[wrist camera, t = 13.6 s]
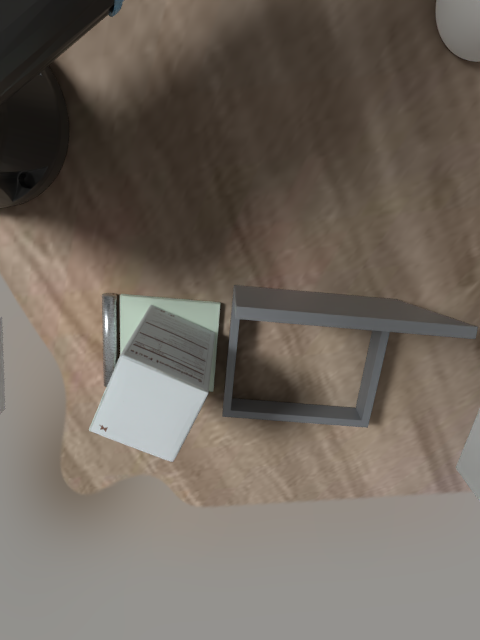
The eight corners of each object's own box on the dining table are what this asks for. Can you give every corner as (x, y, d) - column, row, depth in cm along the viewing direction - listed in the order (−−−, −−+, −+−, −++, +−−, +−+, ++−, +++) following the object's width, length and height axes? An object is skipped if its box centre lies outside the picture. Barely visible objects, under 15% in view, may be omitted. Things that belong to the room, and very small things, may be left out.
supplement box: (189, 388, 46) (172, 466, 34) (124, 360, 45) (84, 432, 33) (218, 331, 44) (211, 394, 32) (151, 300, 43) (118, 354, 31)
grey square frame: (223, 403, 47) (222, 416, 45) (233, 286, 43) (233, 293, 40) (361, 414, 48) (367, 427, 46) (386, 299, 43) (395, 307, 41)
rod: (105, 380, 46) (102, 386, 45) (104, 292, 43) (100, 296, 42) (118, 381, 46) (115, 387, 45) (118, 293, 43) (114, 297, 42)
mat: (121, 381, 46) (120, 384, 46) (121, 293, 43) (119, 295, 42) (213, 388, 47) (213, 391, 46) (220, 302, 43) (220, 304, 43)
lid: (235, 320, 27) (236, 306, 27) (233, 294, 40) (234, 285, 40) (475, 340, 28) (477, 326, 27) (395, 308, 41) (396, 299, 41)
